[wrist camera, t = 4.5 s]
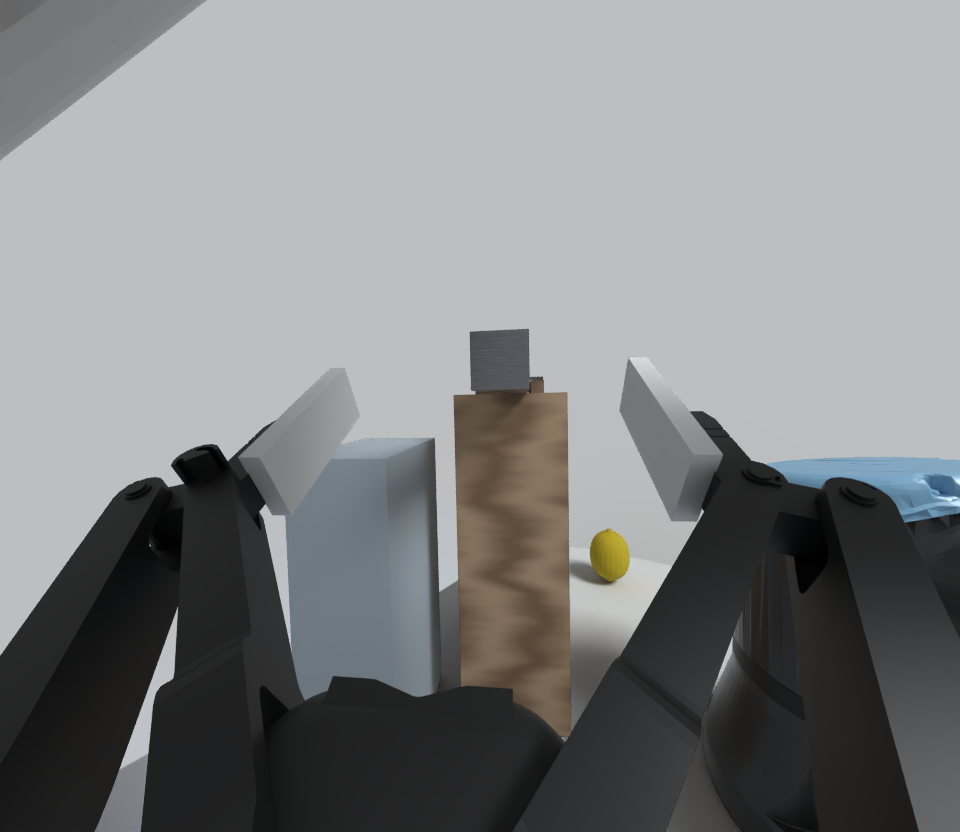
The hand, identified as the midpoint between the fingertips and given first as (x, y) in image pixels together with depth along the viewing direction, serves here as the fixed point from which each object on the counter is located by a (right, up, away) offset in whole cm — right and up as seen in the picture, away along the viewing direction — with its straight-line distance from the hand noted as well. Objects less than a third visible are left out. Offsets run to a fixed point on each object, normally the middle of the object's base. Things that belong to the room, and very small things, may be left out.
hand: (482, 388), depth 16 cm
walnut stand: (+4, -27, +21) cm, 35 cm away
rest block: (-8, -28, +13) cm, 32 cm away
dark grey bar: (+3, +1, +14) cm, 14 cm away
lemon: (+19, -26, +35) cm, 48 cm away
